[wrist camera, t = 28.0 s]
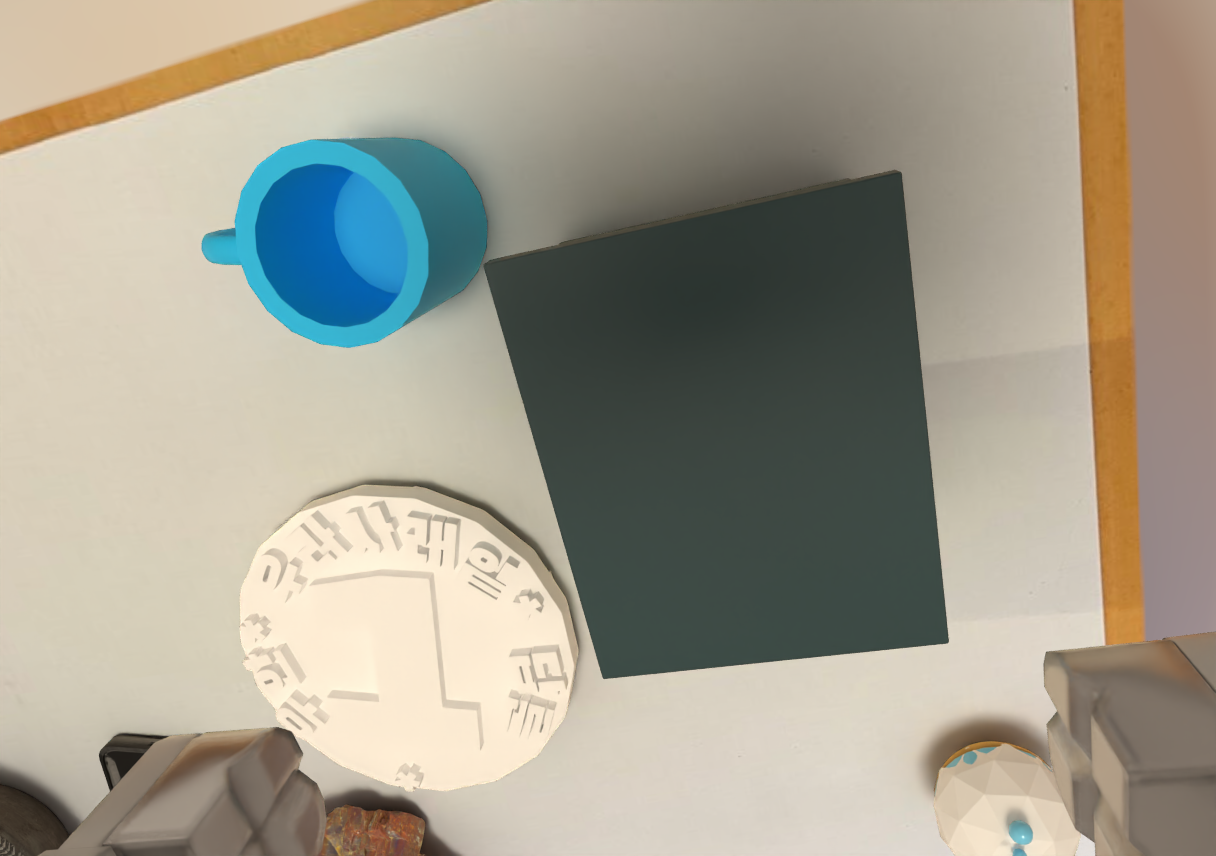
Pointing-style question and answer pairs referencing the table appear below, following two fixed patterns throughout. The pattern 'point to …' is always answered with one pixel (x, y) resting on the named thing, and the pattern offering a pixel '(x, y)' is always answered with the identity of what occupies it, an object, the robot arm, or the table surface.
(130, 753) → the phone
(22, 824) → the planter
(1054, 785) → the ornament
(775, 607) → the lid
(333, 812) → the mineral specimen
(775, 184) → the table surface
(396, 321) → the mug
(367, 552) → the giant coin
